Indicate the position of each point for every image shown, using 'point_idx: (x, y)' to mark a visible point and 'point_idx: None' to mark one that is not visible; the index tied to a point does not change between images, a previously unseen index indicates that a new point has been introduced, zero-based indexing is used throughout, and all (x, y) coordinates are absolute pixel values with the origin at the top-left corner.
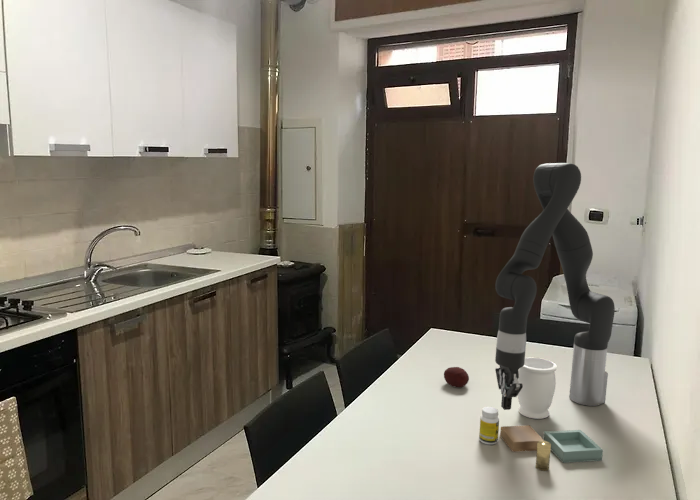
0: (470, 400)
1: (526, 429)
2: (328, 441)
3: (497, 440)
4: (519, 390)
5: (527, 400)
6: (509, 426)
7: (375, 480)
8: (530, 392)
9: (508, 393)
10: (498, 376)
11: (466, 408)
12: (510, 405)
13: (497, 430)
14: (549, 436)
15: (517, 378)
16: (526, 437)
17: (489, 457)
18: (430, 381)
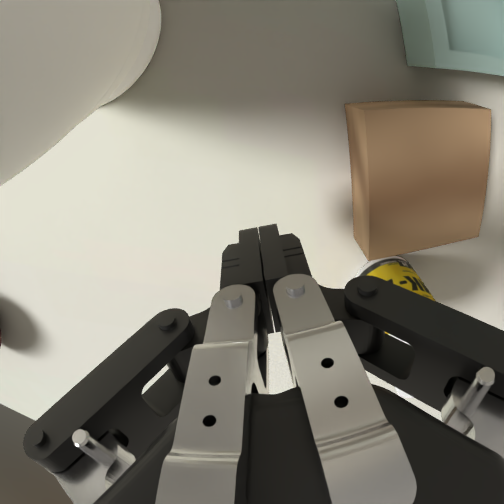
0: (52, 297)
1: (406, 147)
2: None
3: (407, 262)
4: (489, 334)
5: (117, 78)
6: (371, 222)
7: (441, 417)
8: (106, 60)
9: (392, 360)
10: (147, 447)
11: (122, 319)
12: (300, 247)
13: (429, 292)
14: (474, 69)
15: (500, 456)
16: (464, 174)
17: (461, 286)
18: (3, 365)
